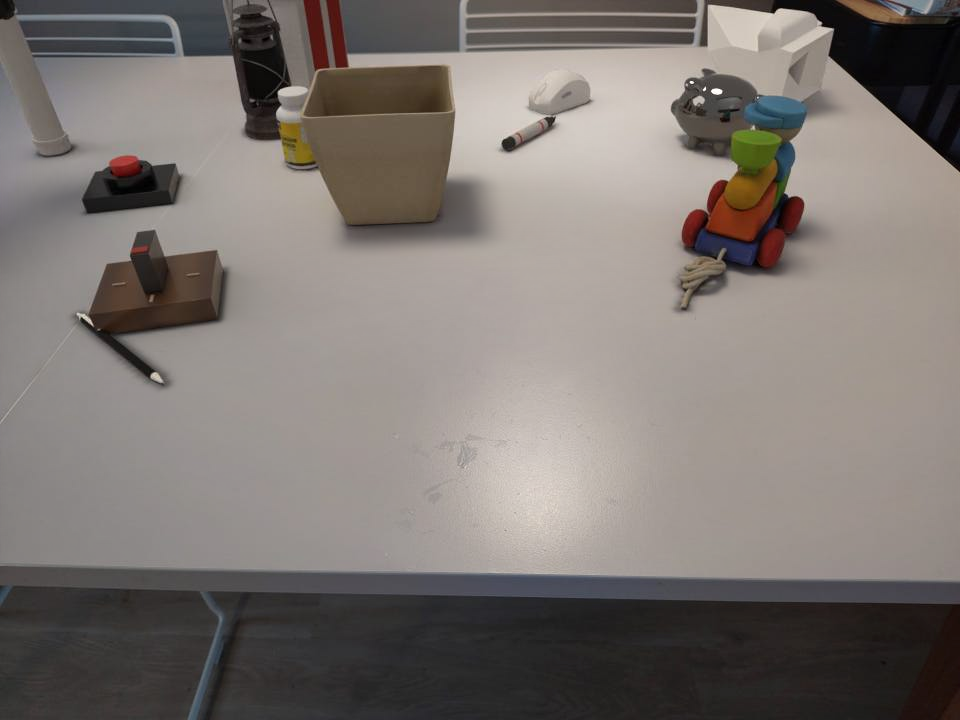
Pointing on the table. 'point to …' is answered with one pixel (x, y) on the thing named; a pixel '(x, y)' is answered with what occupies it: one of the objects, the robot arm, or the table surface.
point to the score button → (125, 165)
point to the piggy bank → (714, 108)
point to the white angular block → (770, 49)
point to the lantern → (258, 68)
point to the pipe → (30, 90)
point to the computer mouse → (559, 92)
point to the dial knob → (149, 261)
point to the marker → (527, 133)
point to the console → (159, 295)
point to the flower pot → (382, 139)
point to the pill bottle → (294, 128)
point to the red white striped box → (304, 35)
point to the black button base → (131, 188)
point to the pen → (121, 349)
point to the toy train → (749, 196)
